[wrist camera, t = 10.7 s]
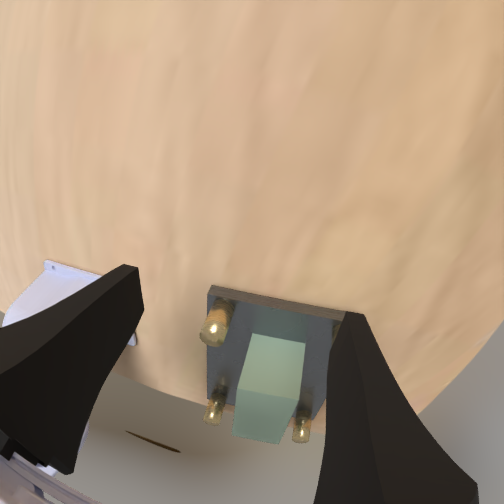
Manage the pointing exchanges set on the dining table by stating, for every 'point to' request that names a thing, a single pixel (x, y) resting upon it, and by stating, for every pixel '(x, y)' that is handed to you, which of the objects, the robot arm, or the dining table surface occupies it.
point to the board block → (268, 388)
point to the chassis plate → (272, 325)
